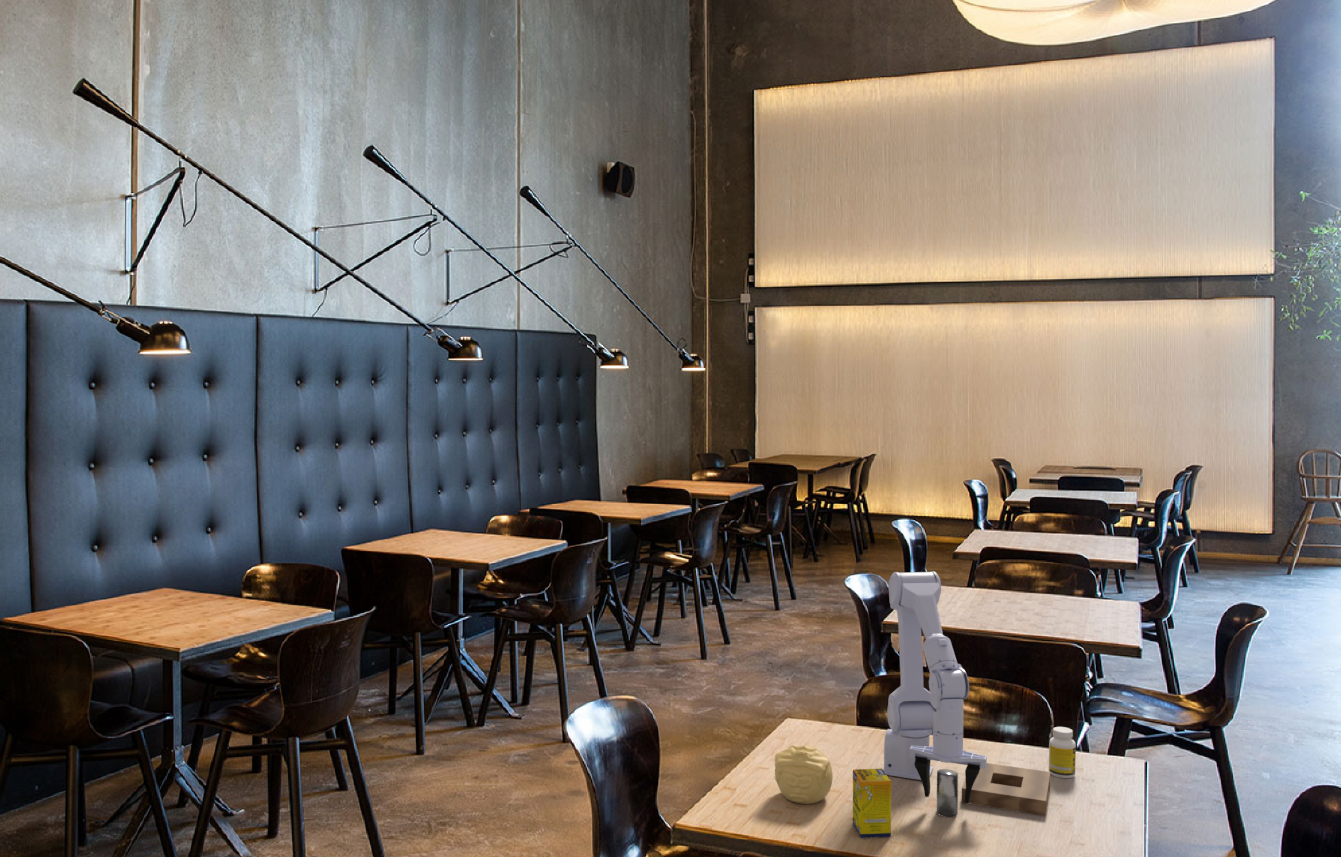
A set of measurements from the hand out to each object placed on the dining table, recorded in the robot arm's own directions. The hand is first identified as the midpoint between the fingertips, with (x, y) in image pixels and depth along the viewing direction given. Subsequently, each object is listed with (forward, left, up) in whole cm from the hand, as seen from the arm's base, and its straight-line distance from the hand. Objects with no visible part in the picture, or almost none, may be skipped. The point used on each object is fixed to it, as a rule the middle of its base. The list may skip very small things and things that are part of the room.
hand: (947, 798), depth 201 cm
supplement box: (-12, -14, -3) cm, 19 cm away
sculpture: (-28, -4, -3) cm, 28 cm away
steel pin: (0, 0, -3) cm, 3 cm away
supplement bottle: (+20, +30, -3) cm, 36 cm away
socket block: (+10, +14, -3) cm, 17 cm away
